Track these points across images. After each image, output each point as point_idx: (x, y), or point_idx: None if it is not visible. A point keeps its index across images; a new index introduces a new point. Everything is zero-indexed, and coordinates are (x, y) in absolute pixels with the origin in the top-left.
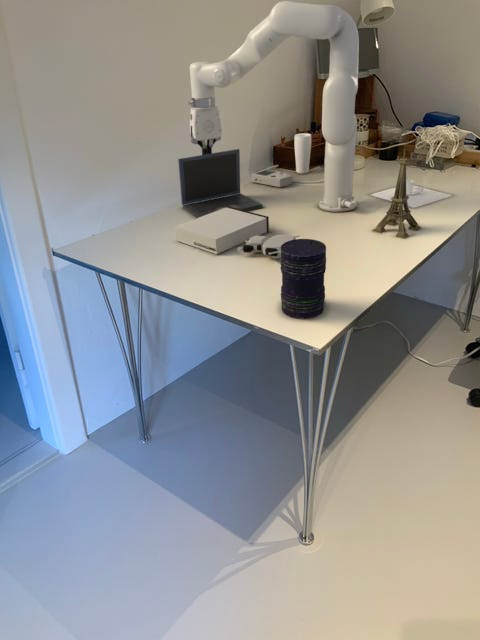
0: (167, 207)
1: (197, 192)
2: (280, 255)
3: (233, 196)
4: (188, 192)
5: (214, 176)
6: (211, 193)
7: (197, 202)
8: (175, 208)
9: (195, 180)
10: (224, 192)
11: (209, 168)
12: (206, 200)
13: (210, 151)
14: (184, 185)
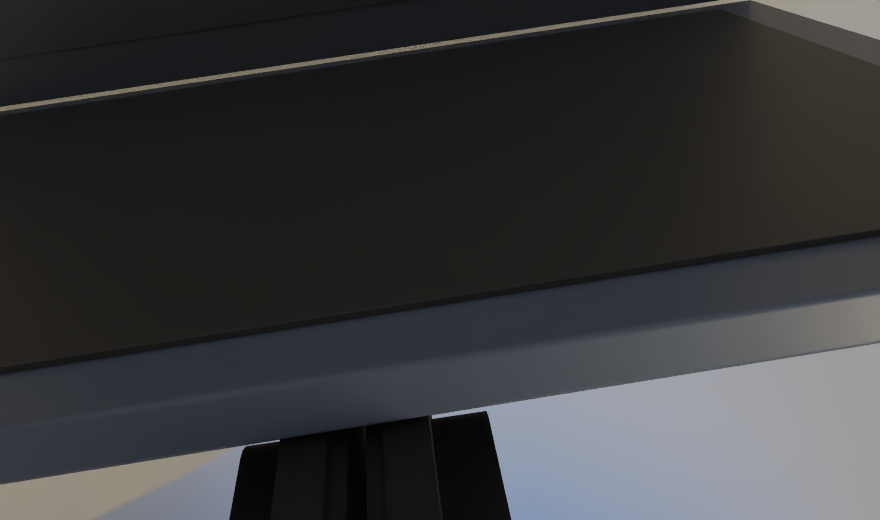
0: None
1: (574, 50)
2: None
3: (50, 17)
4: (721, 35)
5: (277, 147)
6: (354, 70)
7: (560, 5)
8: None
9: (653, 89)
10: (158, 94)
11: (373, 191)
12: (432, 33)
13: (285, 494)
14: (833, 54)
